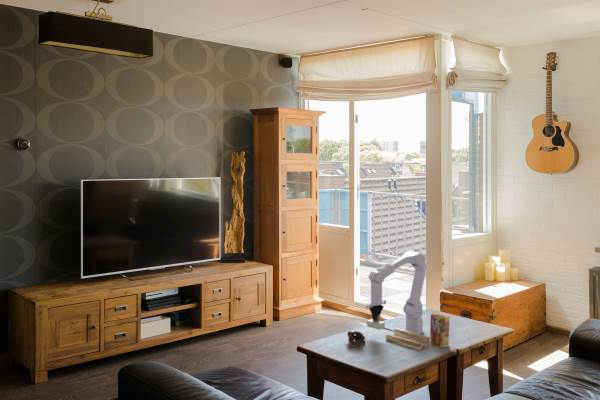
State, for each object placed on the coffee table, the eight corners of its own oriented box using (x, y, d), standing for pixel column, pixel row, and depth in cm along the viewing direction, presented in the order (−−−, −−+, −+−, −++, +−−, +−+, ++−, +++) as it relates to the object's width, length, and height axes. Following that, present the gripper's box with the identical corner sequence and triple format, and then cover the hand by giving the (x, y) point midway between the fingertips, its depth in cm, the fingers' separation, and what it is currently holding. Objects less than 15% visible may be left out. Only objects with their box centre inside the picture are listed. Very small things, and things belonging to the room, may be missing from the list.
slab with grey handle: (372, 324, 304) (372, 311, 303) (384, 327, 298) (385, 314, 298) (366, 326, 301) (367, 313, 300) (379, 329, 295) (379, 316, 295)
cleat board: (396, 336, 305) (396, 328, 304) (429, 345, 291) (429, 336, 290) (386, 340, 298) (386, 331, 298) (419, 349, 284) (419, 340, 284)
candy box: (449, 346, 290) (450, 316, 288) (443, 348, 287) (444, 318, 286) (434, 341, 297) (435, 312, 295) (429, 343, 294) (430, 314, 293)
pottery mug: (370, 346, 290) (368, 335, 286) (357, 357, 286) (354, 346, 282) (354, 334, 299) (352, 323, 295) (341, 345, 295) (338, 334, 290)
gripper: (378, 290, 306) (378, 315, 307) (361, 294, 296) (361, 320, 297) (389, 292, 301) (389, 317, 302) (372, 297, 291) (372, 323, 292)
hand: (375, 319), depth 299 cm, fingers closed on slab with grey handle
